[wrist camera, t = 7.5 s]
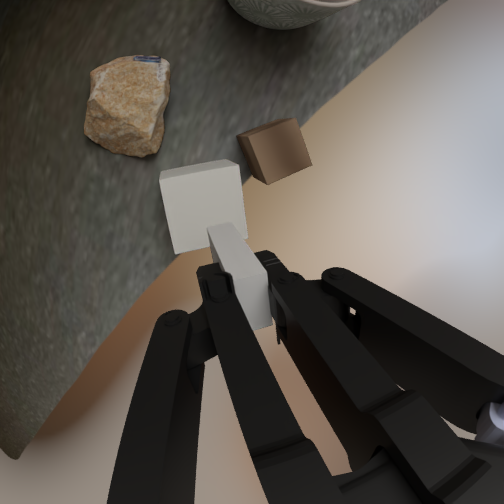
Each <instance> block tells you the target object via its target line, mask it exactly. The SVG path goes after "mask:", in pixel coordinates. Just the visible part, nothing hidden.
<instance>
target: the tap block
mask: <svg viewBox="0 0 504 504" xmlns="http://www.w3.org/2000/svg"><path fill="white" fill-rule="evenodd" d="M159 183H160V188H161V193H162V198H163V203H164V207H165V212H166V217H167V221H168V226H169V230H170V235H171V239H172V243H173V248H174V252H175V254H179V253H184V252H188V251H193V250H198V249H202V248H206V247H210V243H209V238H208V233H207V228H206V227H210V226H214V225H219V224H223V223H228V222H232V224H233V225H234V226H235V228H236V229H237V231H238V232H239V233H240V235H241V236H242V238H243V239H248V233H247V225H246V217H245V209H244V201H243V193H242V185H241V177H240V169H239V165H238V164H236V163H234V162H232V161H229V160H227V159H224V160H218V161H212V162H206V163H201V164H195V165H190V166H185V167H180V168H175V169H170V170H165V171H161V174H160V178H159Z"/></svg>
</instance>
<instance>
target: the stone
mask: <svg viewBox="0 0 504 504" xmlns="http://www.w3.org/2000/svg"><path fill="white" fill-rule="evenodd" d="M90 78H91V89H90V98H89V100H88V102H87V111H86V120H85V124H84V133H85V135H86V136H88V137H89V138H90V139H91V140H92V141H94V142H95V143H98V144H101V146H102V147H104V148H105V149H108V150H110V151H111V152H112V153H114V154H125V155H128V156H138V157H145V156H146V155H147V154H153V153H157V151H158V149H159V148H160V147H161V146H160V145H161V142H162V140H163V134H164V129H165V125H164V119H163V112H164V110H165V107H166V105H167V103H168V100H169V99H168V97H169V94H170V82H169V81H170V64H169V62H167V61H166V60H165V59H162V58H161V57H157V56H143V55H135V56H130V57H121V58H117V59H115V60H113V61H111V62H110V63H107V64H104V65H102V66H100V67H98V68H96V69H94V70H93V71H91V73H90Z"/></svg>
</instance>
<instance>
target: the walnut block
mask: <svg viewBox="0 0 504 504" xmlns="http://www.w3.org/2000/svg"><path fill="white" fill-rule="evenodd" d="M236 137H237V139H238V141H239V144H240V146H241V148H242V151H243V153H244V156H245V158H246V161H247V163H248V165H249V168H250V170H251V173H252V175H253V177H254V178H256V179H258V180H260V181H261V182H263V183H265V184H267V185H269V184H271V183H273V182H275V181H278V180H280V179H282V178H284V177H287V176H289V175H291V174H293V173H296V172H298V171H300V170H303V169H305V168H307V167H309V166H312V163H311V160H310V157H309V154H308V151H307V148H306V145H305V142H304V139H303V137H302V134H301V131H300V128H299V125H298V122H297V120H296V118H289V119H277V120H274V121H272V122H269V123H267V124H264V125H261V126H259V127H256V128H254V129H251V130H249V131H246V132H244V133H242V134H239V135H237V136H236Z"/></svg>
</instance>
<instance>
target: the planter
mask: <svg viewBox="0 0 504 504" xmlns="http://www.w3.org/2000/svg"><path fill="white" fill-rule="evenodd" d="M359 1H361V0H228V2H229V3H230V5H231V6H232V8H233V9H234V10H235V11H236V12H237V13H238V14H239V15H241V16H242V17H243V18H245V19H246V20H248V21H250V22H252V23H254V24H256V25H259V26H262V27H265V28H270V29H277V30H288V29H295V28H300V27H303V26H306V25H309V24H312V23H314V22H316V21H319V20H321V19H323V18H325V17H328V16H330V15H332V14H334V13H336V12H338V11H340V10H343V9H345V8H347V7H349V6H352V5H354V4H356V3H358V2H359Z"/></svg>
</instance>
